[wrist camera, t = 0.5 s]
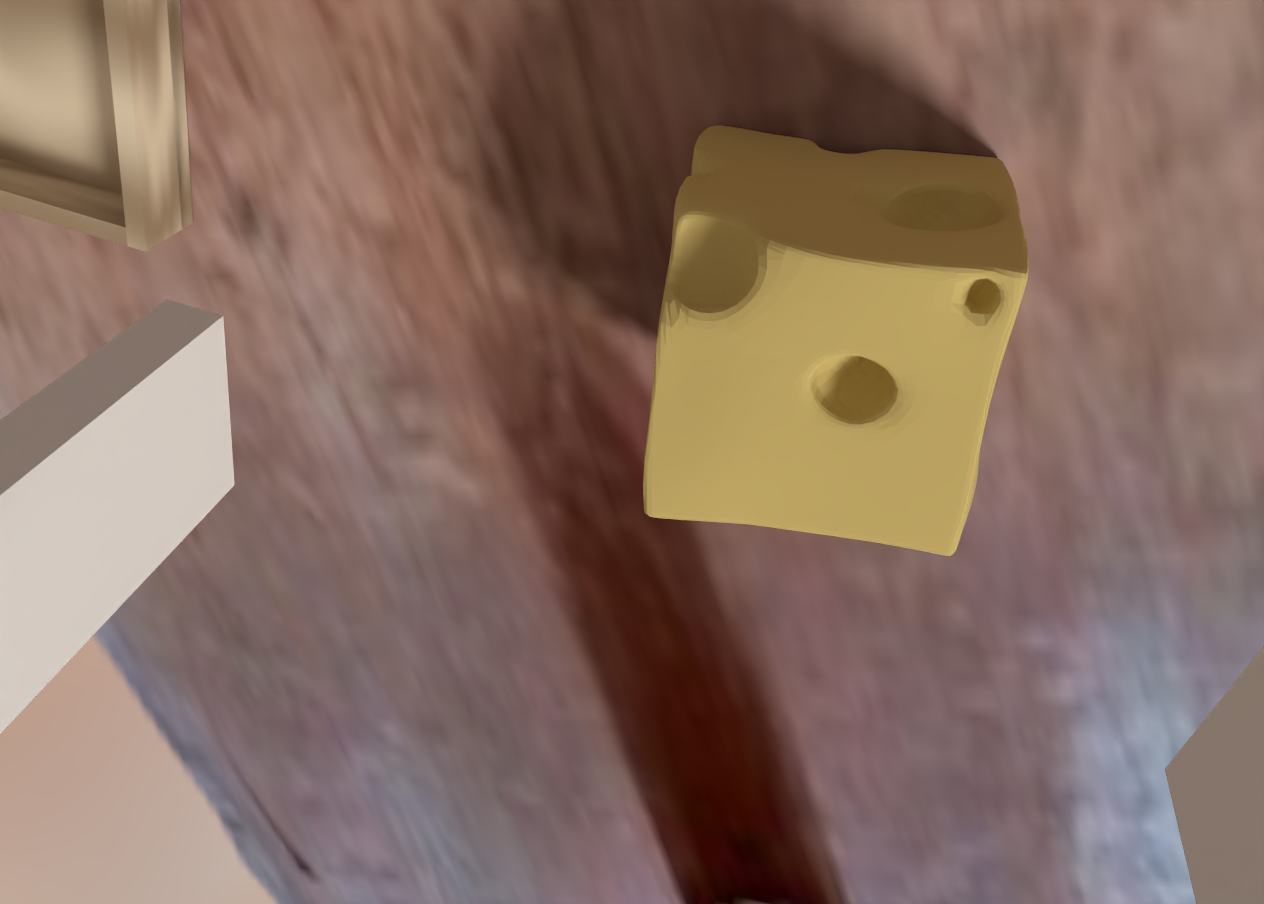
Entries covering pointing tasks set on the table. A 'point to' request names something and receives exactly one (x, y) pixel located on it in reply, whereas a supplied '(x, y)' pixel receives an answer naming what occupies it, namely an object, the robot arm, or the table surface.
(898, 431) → the cheese
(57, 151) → the tray
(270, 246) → the table surface
